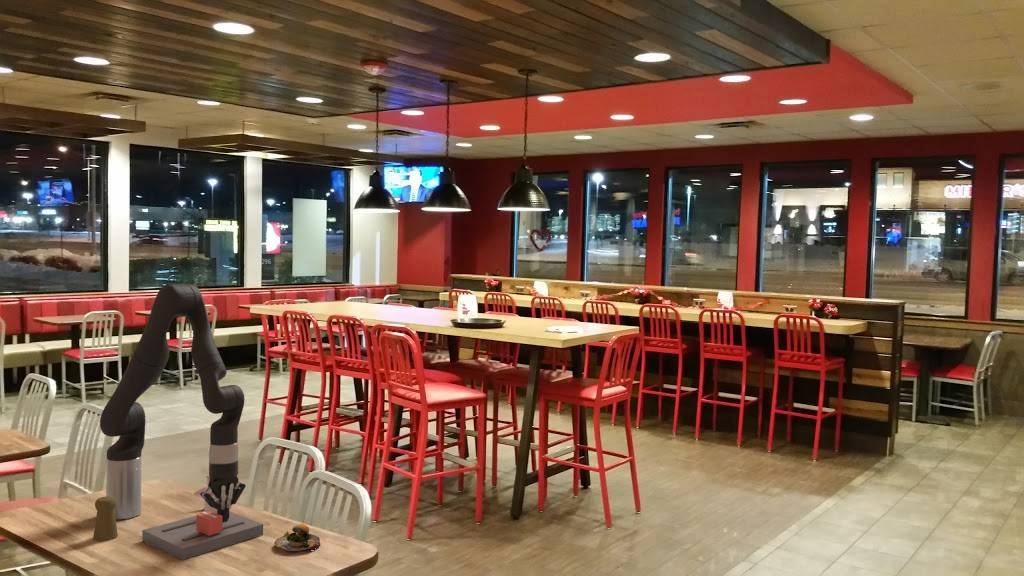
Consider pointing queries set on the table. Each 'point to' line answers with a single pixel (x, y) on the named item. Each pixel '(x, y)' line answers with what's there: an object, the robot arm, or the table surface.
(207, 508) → the block
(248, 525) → the console
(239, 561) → the table surface
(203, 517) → the block
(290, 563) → the table surface
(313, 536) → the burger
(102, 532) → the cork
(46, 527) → the table surface
